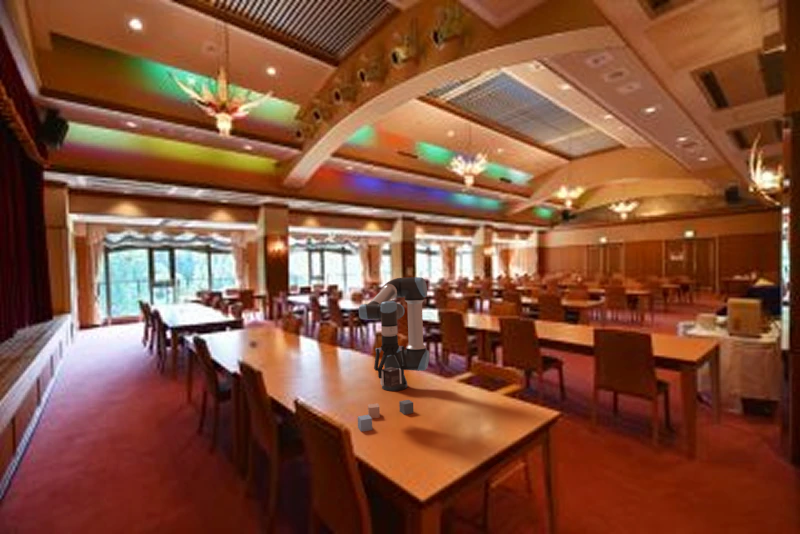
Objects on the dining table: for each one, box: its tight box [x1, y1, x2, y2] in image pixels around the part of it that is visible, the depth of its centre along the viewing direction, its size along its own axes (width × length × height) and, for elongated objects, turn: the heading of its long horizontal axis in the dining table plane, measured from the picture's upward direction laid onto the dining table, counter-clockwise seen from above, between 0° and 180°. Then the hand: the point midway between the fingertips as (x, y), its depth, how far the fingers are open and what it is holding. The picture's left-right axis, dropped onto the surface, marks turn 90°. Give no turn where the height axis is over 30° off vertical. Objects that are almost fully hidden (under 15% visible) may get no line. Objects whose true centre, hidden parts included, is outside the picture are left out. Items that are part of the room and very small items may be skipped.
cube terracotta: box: [367, 403, 381, 419], centre depth 180 cm, size 5×5×5 cm
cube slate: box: [357, 414, 373, 433], centre depth 166 cm, size 5×5×5 cm
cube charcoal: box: [398, 399, 415, 416], centre depth 184 cm, size 5×5×5 cm
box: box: [382, 367, 400, 387], centre depth 176 cm, size 6×6×7 cm
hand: (391, 384), depth 176 cm, fingers closed on box, 8 cm apart
